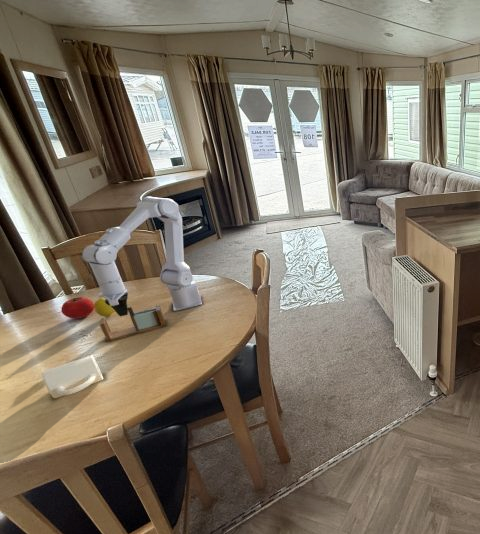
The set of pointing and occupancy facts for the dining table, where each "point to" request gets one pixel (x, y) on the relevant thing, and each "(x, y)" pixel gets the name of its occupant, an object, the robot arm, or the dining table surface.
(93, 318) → the dining table surface
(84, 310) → the tomato
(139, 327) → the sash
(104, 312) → the lemon
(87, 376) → the white box with handle
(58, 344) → the dining table surface
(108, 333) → the window frame
